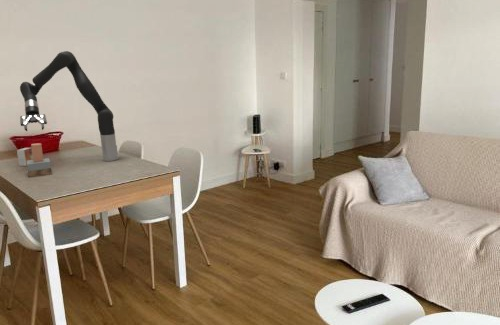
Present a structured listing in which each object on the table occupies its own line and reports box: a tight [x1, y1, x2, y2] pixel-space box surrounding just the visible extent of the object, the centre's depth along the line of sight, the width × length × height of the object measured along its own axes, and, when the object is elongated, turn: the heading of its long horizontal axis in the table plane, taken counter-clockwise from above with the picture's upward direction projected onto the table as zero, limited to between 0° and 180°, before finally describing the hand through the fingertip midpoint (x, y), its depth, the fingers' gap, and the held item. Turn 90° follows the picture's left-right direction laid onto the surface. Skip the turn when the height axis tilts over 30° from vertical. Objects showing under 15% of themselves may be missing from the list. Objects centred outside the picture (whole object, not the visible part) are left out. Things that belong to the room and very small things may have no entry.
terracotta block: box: [30, 142, 44, 162], centre depth 248 cm, size 5×5×10 cm
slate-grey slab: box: [26, 157, 52, 172], centre depth 249 cm, size 12×12×4 cm
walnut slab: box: [27, 167, 53, 178], centre depth 250 cm, size 12×12×4 cm
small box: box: [16, 147, 33, 167], centre depth 274 cm, size 8×6×10 cm
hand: (34, 129), depth 253 cm, fingers open, 8 cm apart
